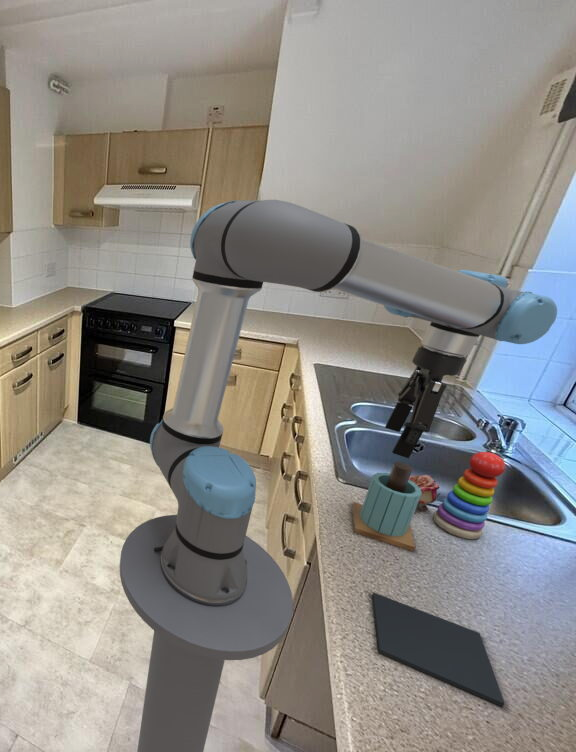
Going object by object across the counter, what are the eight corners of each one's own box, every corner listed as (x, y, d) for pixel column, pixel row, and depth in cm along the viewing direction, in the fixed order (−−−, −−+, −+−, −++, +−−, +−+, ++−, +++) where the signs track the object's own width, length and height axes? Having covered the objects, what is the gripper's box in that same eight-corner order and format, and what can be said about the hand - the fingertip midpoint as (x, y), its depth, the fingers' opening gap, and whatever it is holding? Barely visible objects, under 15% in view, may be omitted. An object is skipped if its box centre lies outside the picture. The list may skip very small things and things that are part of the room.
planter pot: (361, 526, 87) (374, 487, 84) (359, 505, 94) (371, 468, 90) (408, 542, 83) (424, 501, 80) (402, 518, 90) (417, 480, 86)
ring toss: (354, 532, 87) (375, 470, 82) (352, 505, 95) (371, 447, 90) (413, 551, 83) (440, 487, 77) (406, 522, 91) (430, 461, 85)
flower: (444, 499, 96) (428, 466, 97) (454, 514, 88) (436, 478, 89) (395, 507, 101) (380, 476, 102) (400, 522, 93) (384, 488, 94)
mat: (378, 652, 63) (379, 649, 63) (372, 595, 73) (373, 592, 73) (502, 707, 56) (505, 703, 56) (477, 636, 66) (479, 632, 66)
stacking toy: (443, 535, 87) (476, 460, 80) (424, 511, 94) (454, 440, 87) (489, 544, 85) (527, 467, 78) (466, 519, 92) (500, 446, 85)
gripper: (487, 374, 70) (428, 475, 78) (452, 342, 90) (408, 426, 98) (432, 360, 73) (381, 459, 81) (410, 333, 93) (371, 414, 101)
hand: (395, 441), depth 90 cm, fingers open, 13 cm apart
